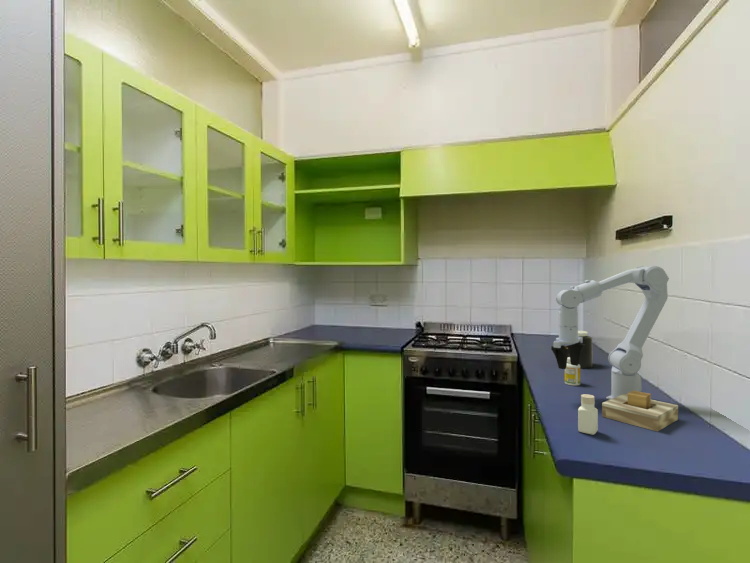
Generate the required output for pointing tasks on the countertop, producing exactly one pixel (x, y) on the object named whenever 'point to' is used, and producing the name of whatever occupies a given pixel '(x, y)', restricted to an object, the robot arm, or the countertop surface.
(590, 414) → the pepper shaker
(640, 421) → the posting box
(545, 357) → the countertop surface
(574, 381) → the supplement bottle
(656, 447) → the countertop surface
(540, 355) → the countertop surface
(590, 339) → the jar
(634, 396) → the ochre peg
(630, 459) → the countertop surface
